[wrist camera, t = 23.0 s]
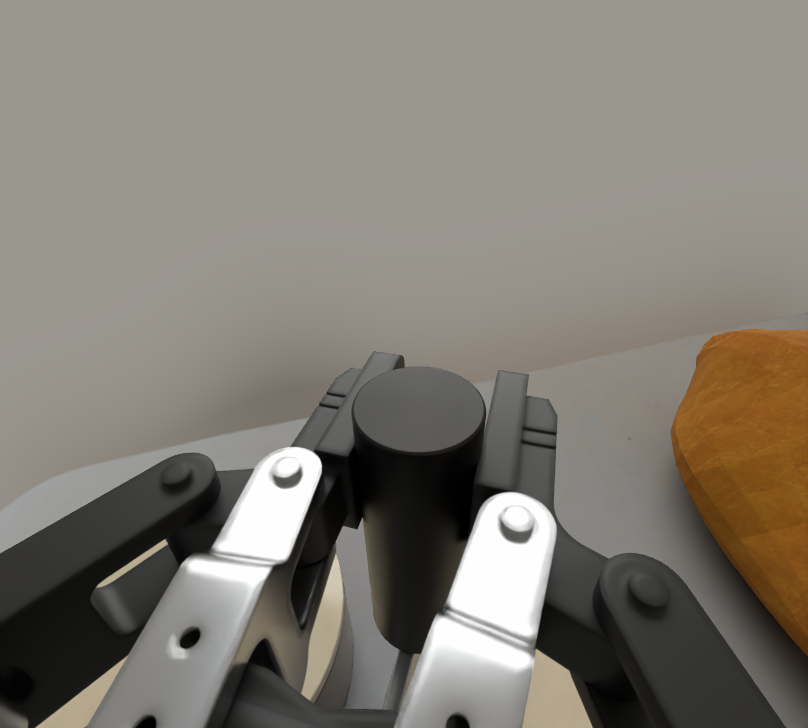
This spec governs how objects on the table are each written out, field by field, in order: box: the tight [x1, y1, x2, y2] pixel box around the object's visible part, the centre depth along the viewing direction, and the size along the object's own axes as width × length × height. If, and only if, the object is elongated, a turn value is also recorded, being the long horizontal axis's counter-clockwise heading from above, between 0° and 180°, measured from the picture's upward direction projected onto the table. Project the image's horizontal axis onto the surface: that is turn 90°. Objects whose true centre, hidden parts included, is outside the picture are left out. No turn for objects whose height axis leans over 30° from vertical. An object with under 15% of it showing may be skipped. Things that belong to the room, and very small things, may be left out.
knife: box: [351, 367, 486, 713], centre depth 13 cm, size 8×2×16 cm, turn 164°
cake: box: [36, 539, 353, 728], centre depth 19 cm, size 12×12×4 cm
